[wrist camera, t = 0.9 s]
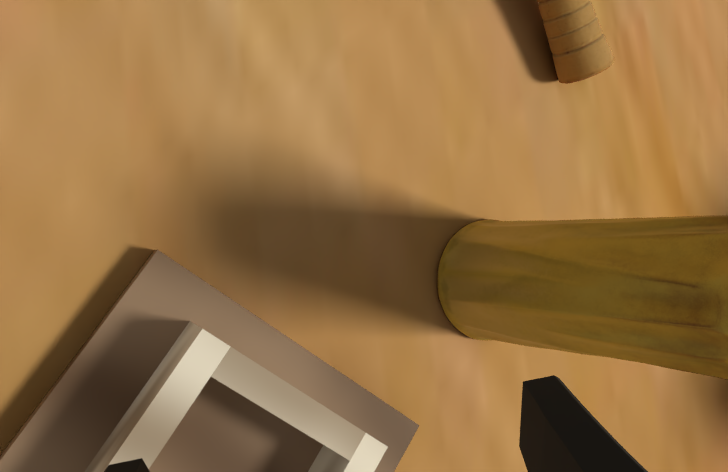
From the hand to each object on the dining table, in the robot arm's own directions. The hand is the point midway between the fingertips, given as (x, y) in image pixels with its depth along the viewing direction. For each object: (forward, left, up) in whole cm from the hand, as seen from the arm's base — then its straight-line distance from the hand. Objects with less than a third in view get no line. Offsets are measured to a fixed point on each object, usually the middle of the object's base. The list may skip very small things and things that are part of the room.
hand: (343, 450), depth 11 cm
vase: (+10, -10, -14) cm, 20 cm away
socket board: (-4, -3, -14) cm, 15 cm away
